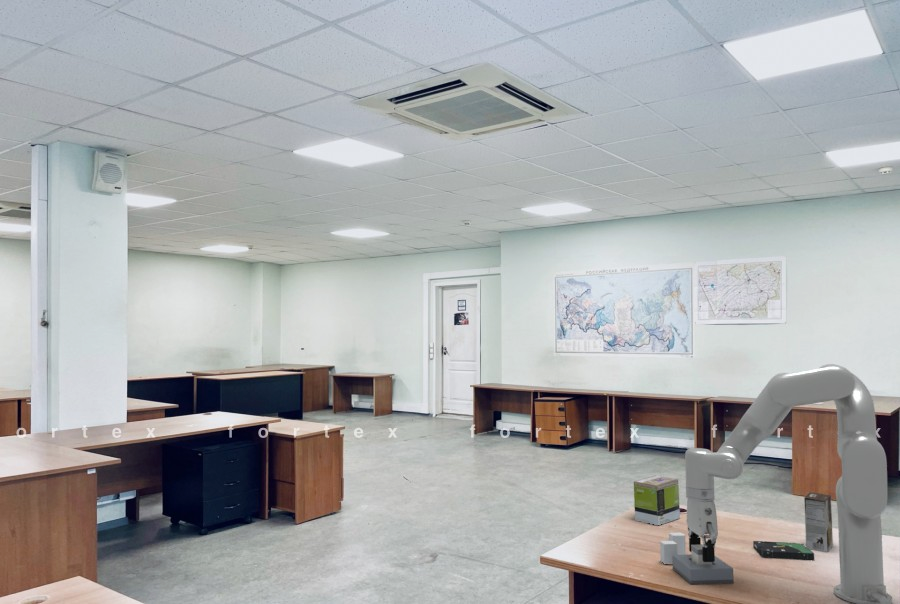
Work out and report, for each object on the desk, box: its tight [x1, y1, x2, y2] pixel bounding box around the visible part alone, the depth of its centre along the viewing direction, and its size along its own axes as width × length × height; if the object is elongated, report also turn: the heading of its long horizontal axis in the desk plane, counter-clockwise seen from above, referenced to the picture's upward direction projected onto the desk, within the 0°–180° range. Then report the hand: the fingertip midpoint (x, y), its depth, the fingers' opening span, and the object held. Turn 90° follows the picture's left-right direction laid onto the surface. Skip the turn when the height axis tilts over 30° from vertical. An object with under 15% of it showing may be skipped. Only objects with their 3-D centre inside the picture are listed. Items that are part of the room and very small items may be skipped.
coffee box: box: [804, 491, 834, 553], centre depth 209 cm, size 9×6×16 cm
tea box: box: [633, 475, 681, 526], centre depth 241 cm, size 15×10×15 cm
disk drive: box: [752, 540, 815, 561], centre depth 202 cm, size 10×3×15 cm
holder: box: [672, 553, 734, 585], centre depth 183 cm, size 12×12×4 cm
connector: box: [690, 544, 712, 565], centre depth 183 cm, size 4×4×7 cm
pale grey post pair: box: [659, 532, 687, 565], centre depth 198 cm, size 11×10×6 cm
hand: (701, 556), depth 183 cm, fingers open, 7 cm apart
